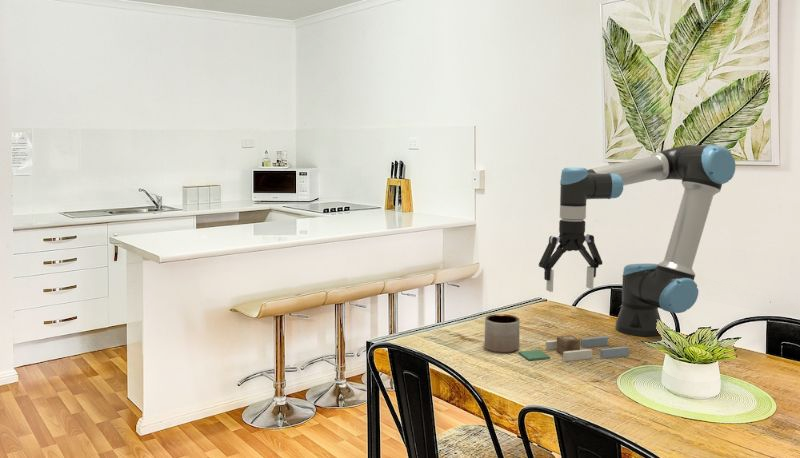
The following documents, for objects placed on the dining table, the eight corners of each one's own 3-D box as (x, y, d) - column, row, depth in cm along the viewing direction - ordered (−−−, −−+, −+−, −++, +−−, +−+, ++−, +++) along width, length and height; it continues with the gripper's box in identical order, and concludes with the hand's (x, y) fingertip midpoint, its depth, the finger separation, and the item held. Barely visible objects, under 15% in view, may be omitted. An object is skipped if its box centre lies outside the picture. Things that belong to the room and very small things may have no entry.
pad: (538, 351, 203) (538, 349, 203) (550, 358, 196) (550, 356, 196) (518, 353, 201) (518, 351, 201) (528, 360, 194) (528, 358, 194)
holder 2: (605, 344, 210) (606, 336, 210) (628, 355, 199) (628, 347, 198) (580, 346, 207) (581, 338, 207) (602, 358, 196) (602, 350, 196)
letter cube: (570, 350, 204) (571, 334, 203) (579, 355, 199) (580, 339, 198) (556, 352, 202) (557, 336, 202) (564, 357, 198) (565, 341, 197)
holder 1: (570, 346, 208) (571, 338, 207) (591, 358, 196) (592, 350, 196) (545, 349, 205) (545, 341, 205) (564, 361, 194) (565, 352, 193)
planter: (518, 354, 200) (519, 324, 199) (483, 352, 202) (483, 322, 201) (519, 343, 211) (520, 314, 209) (485, 341, 213) (486, 313, 211)
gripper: (601, 216, 202) (599, 284, 205) (528, 219, 195) (526, 289, 198) (616, 219, 195) (613, 289, 198) (540, 222, 188) (538, 294, 191)
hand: (569, 289), depth 198 cm, fingers open, 13 cm apart
